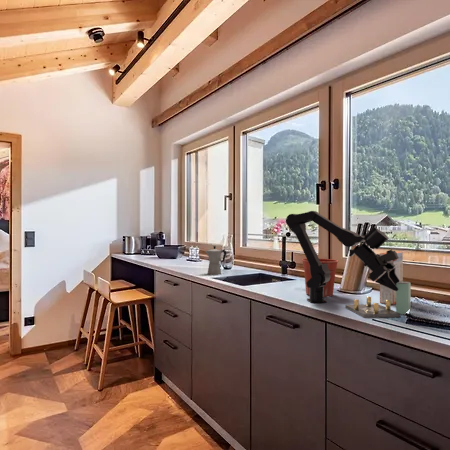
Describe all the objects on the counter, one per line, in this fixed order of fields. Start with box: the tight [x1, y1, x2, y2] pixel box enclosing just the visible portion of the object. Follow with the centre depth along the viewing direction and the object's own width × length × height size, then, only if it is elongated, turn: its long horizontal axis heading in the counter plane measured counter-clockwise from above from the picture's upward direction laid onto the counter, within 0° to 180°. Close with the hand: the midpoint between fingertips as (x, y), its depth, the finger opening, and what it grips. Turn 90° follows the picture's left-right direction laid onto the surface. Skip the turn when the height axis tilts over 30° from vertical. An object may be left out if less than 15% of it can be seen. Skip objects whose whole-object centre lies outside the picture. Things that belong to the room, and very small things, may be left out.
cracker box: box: [378, 251, 404, 305], centre depth 157 cm, size 14×6×21 cm, turn 140°
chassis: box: [344, 296, 401, 319], centre depth 137 cm, size 15×14×5 cm
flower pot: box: [301, 258, 339, 298], centre depth 171 cm, size 16×16×16 cm
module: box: [395, 280, 412, 315], centre depth 136 cm, size 4×5×11 cm
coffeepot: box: [205, 245, 228, 276], centre depth 241 cm, size 15×9×18 cm, turn 118°
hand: (399, 288), depth 137 cm, fingers open, 9 cm apart
